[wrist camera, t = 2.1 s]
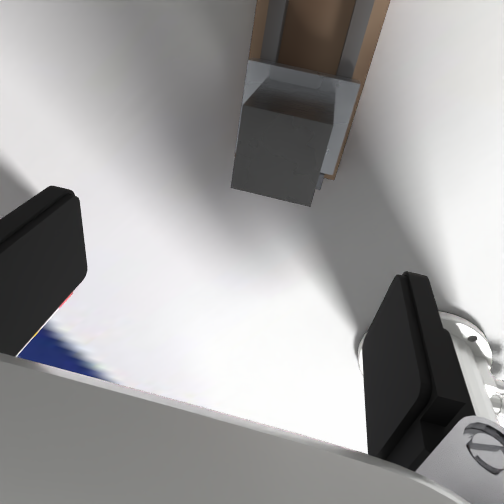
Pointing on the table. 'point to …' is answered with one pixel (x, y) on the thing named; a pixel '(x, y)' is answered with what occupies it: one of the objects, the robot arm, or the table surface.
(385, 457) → the robot arm
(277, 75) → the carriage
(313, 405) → the table surface
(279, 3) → the slide rail track
